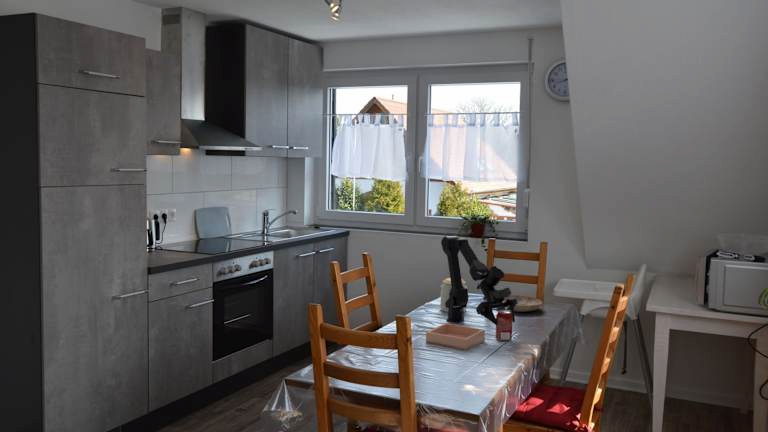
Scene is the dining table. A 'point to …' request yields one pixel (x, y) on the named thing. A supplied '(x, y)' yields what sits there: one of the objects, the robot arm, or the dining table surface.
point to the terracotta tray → (455, 336)
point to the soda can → (504, 325)
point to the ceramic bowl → (525, 303)
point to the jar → (447, 293)
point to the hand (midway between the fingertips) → (505, 323)
